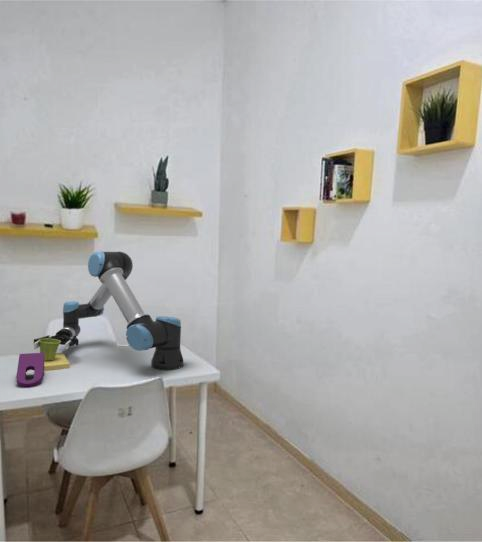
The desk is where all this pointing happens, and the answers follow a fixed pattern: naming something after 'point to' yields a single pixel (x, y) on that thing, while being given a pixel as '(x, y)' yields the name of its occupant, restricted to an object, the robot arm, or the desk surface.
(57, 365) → the shelf board
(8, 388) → the desk surface
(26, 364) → the mounting bracket
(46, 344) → the plant pot
